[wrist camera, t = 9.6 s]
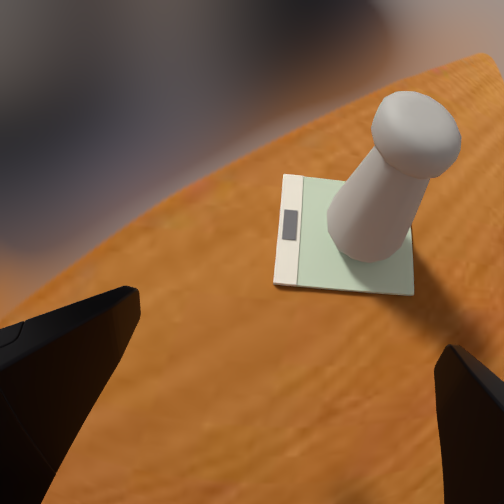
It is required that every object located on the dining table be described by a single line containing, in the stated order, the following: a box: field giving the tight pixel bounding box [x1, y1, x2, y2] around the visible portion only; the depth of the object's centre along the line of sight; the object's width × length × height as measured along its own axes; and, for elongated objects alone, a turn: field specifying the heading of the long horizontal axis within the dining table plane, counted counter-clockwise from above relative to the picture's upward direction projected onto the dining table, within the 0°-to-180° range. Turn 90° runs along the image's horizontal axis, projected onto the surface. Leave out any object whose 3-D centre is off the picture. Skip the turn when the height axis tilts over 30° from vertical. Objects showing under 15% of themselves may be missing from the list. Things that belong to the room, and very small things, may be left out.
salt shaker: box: [327, 91, 461, 263], centre depth 17 cm, size 6×6×13 cm
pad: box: [273, 174, 414, 296], centre depth 24 cm, size 9×11×1 cm
